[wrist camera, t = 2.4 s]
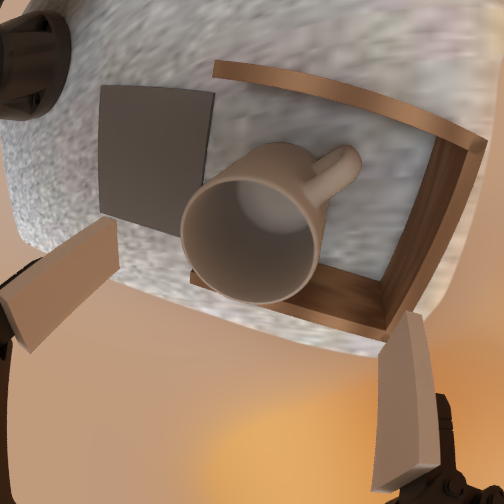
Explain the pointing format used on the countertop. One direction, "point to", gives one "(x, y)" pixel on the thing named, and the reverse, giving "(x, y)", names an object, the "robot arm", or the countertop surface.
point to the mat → (151, 152)
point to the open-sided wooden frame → (418, 225)
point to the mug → (264, 221)
